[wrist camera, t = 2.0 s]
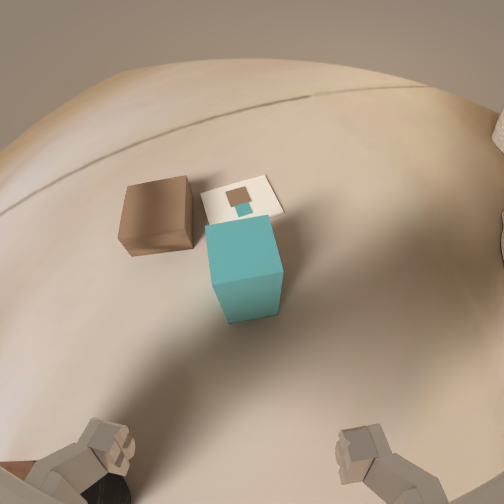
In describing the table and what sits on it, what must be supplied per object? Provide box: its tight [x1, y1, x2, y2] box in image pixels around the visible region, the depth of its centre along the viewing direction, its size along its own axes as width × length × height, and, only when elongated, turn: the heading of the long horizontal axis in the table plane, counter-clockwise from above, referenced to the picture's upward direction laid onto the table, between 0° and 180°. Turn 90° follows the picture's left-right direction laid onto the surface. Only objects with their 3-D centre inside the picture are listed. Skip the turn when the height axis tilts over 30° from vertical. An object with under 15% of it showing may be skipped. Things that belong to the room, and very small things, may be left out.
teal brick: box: [205, 215, 284, 324], centre depth 23 cm, size 4×4×9 cm
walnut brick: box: [118, 176, 193, 257], centre depth 30 cm, size 7×7×4 cm
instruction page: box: [200, 175, 284, 225], centre depth 32 cm, size 8×6×1 cm
